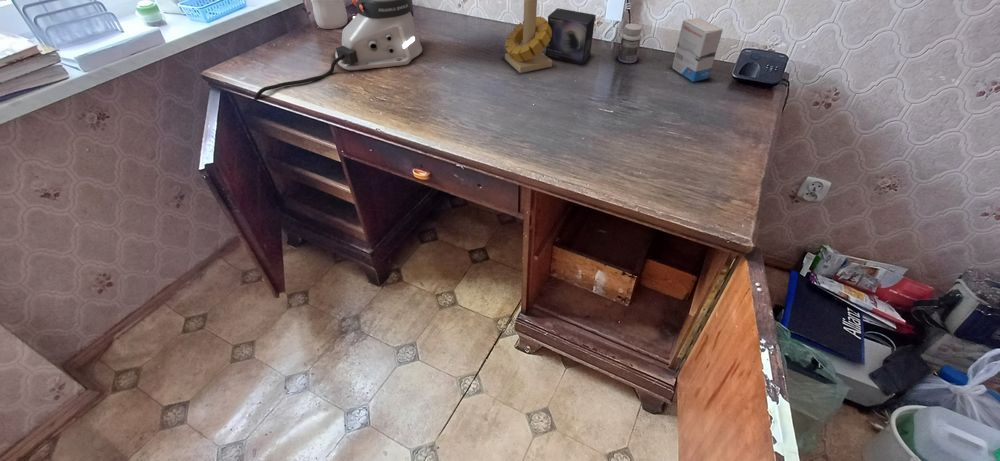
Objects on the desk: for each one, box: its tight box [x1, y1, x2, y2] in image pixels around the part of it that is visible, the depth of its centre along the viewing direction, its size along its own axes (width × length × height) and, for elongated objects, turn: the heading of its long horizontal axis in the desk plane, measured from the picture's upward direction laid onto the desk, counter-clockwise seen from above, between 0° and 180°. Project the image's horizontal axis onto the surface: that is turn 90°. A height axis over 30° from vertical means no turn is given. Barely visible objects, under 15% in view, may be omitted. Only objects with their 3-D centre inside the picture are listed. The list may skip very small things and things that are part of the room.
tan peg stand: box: [504, 0, 553, 74], centre depth 114 cm, size 9×9×16 cm
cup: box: [310, 0, 349, 30], centre depth 136 cm, size 10×10×10 cm
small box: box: [545, 7, 597, 65], centre depth 118 cm, size 11×6×10 cm, turn 62°
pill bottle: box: [617, 23, 643, 64], centre depth 117 cm, size 5×5×8 cm
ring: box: [504, 16, 552, 61], centre depth 115 cm, size 12×12×3 cm
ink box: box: [671, 17, 724, 83], centre depth 110 cm, size 9×5×12 cm, turn 21°
